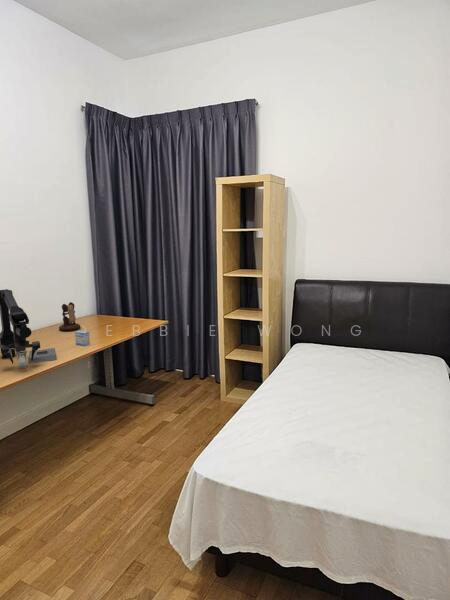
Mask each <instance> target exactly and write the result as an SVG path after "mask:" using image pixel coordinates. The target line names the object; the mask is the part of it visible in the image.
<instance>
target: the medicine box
mask: <svg viewBox="0 0 450 600" xmlns="http://www.w3.org/2000/svg"><path fill="white" fill-rule="evenodd" d="M74 332H75V333H74V337H75V340H74V341H75V346H79V347H81V346H82V347H87V346H89V345H91V341H90V332H89V331H86V330H85V331H84V330H77V331H74Z"/></svg>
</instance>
